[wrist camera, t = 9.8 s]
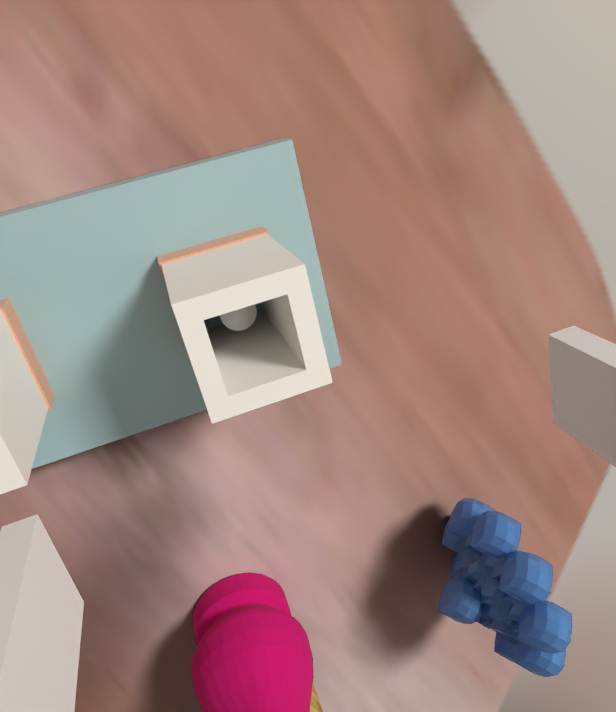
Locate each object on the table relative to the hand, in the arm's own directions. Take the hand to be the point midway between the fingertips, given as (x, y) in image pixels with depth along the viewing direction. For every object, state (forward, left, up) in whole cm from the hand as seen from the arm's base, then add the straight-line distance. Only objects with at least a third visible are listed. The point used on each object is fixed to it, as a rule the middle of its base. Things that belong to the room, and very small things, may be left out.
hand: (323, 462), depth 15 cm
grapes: (-22, -10, -19) cm, 31 cm away
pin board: (0, +6, -18) cm, 19 cm away
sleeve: (0, 0, -16) cm, 16 cm away
